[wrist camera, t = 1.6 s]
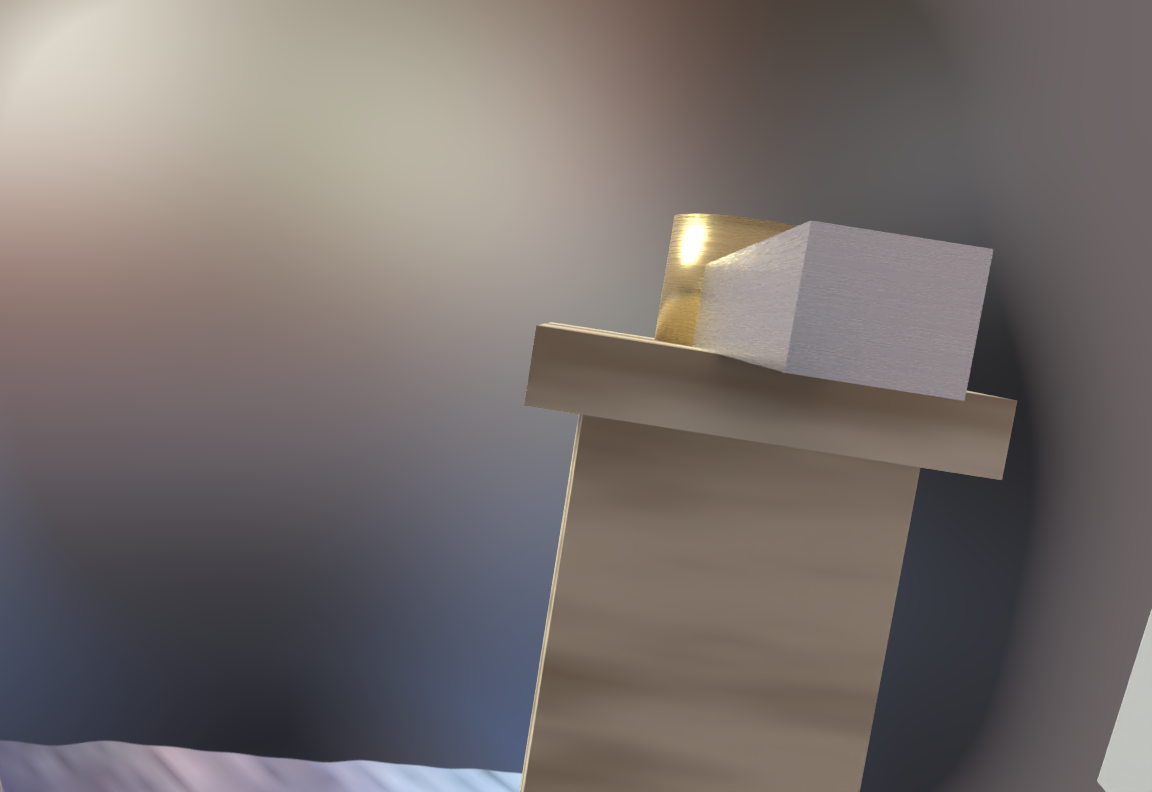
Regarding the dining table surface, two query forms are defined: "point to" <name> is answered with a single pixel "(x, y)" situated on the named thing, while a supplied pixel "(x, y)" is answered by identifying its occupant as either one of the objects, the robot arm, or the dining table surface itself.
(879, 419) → the stand
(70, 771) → the dining table surface
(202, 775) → the dining table surface
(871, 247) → the strut
